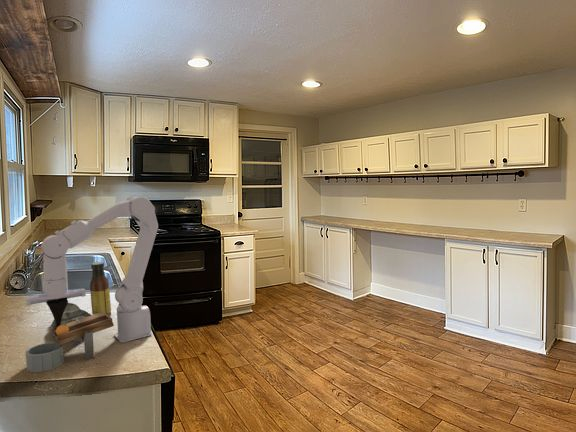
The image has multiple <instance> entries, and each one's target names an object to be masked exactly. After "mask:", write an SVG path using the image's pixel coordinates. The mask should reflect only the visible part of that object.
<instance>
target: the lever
mask: <svg viewBox="0 0 576 432" xmlns="http://www.w3.org/2000/svg"><path fill="white" fill-rule="evenodd" d="M51 324H52V323H51ZM61 325H66V326H67V327H68V329H69V331H68V332H67V333H64V334H61V335H57V333H56V329H57V327H58V326H56V325H55V324H52V328H50V327H49V328H50V329H49V330H50V332H51V334H52V336H53V337H54V339H55V342H57V343H58V344H59V345H60V344H62V345H63V344H66V343H68V342H69V343H70V342H73V340H75V339H78V338H81V339H82V338H84V333H85V332H90V331H92V332H93V334H94V333H98V332H100V331H103V330H107V329H109V328H113V327H114V326H115V325H114V322H113V318H112V317H111V315H110V316H109V315H108V314H105V315H104V314H103V313H102V312H101V313H98V314H94V315H93V314H91V316H88V317H85V318H82V319H79V320H78V319H76V320H75V321H72V322H69V323H66V324H65V322H64V321H62V322H61Z"/></svg>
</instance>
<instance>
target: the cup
mask: <svg viewBox="0 0 576 432" xmlns="http://www.w3.org/2000/svg"><path fill="white" fill-rule="evenodd" d="M25 362H26V363H25V364H26V365H25V367H26V370H27V372H29V371H30V372H29V373H43V372H48V371H52V370H54V369H56V368H58V367H61V366H62V364H63V363H64V347H63V344H60V345H59V344H58V342H57V341H53V342H51V341H50V342H43V343H40V344H36V345H34V346H31V347H29V348H28V349H27V350H26V351H25Z"/></svg>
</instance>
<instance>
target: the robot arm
mask: <svg viewBox="0 0 576 432" xmlns="http://www.w3.org/2000/svg"><path fill="white" fill-rule="evenodd" d="M127 217H128V218H129V217H131V218H132V219H133V220H134V221H135V222H136V224H137V226H138V227H139V228H140V229H139V232H138V235H137V238H136V241H135V245H134V247H133V252H132V254H131V258H130V262H129V265H128V269H127V272H126V274H125V277H124V278H122V281H121V283H120V286H119V287H118V288H117V289H116V291H115V293H114V298H115V301H116V302H117V303H118V305H117V307H116V319H117V321H116V323H117V332H115V333H113V336H114V337H115V338H116V339H117V340H118V341H119V343H127V342H131V341H134V340H140V339H142V338H146V337H150V336H152V335H153V333H152V325H151V322H152V321H151V310H150V308H149V307H148V306H147V305H142V304H143V301H144V300H143V299H144V298H143V292H144V282H143V280H144V277H145V273H146V270H147V267H148V263H149V259H150V256H151V253H152V251H153V247H154V243H155V239H156V237H157V232H158V229H159V223H158V219H157V218H158V217H157V216H156V207H155V205H153V203H152V202H151V201H150V199H148V198H147V197H144V196H136V195H135V196H134V195H133V196H130V197H128V198H126V199H123V200H120V201H119V202H117V203H115V204H113V205H111V206H110V207H107V209H105V210H103V211H101V212H100V213H98V214H96V215H95V216H93V217H92V218H90V219H88V220H87V221H86V220H82V219H79V220H78V221H76V220H73V221H71V222H70V225H68V226H66V227H65V228H64V229H61V230H60V231H59V230H56V231H54V234H55V235H54V234H53V235H52V234H51V235H48V236H46V237H45V238H44V239H43V240H42V243H41V245H40V247H41V248H40V249H41V250H42V252H43V253H44V254H43V258H42V260H43V262H42V268H43V270H42V271H43V284H44V285H43V286H44V287H43V288H44V289H43V290H44V293H40V294H37V295H36V294H35V295H32V296H26V297H25V304H26V306H28V307H29V306H32V305H36V304H37V305H38V304H42V303H45V304H46V305H47V306H48V308H49V310H50V312H51V315H52V317H53V320H55V325H56V326H60V325H61V319H62V316H63V313H64V310H65V308H66V306H67V304H68V303H69V300H68V299H73V298H80V297H82V298H83V297H86V294H87V293H86V289H85V288H77V289H69V283H68V262H67V260H66V259H67V258H66V253H67V252H68V249H72V248H74V247H76V246H78V245H80V244H81V243H83V242H85V241H86V240H88V239H90V238H91V237H92V236H93V234H94V231H95V230H97V229H99V228H101V227H102V226H104V225H106V224H108V223H110V222H113V221H114V220H115V219H117V218H127Z"/></svg>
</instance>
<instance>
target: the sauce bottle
mask: <svg viewBox="0 0 576 432" xmlns="http://www.w3.org/2000/svg"><path fill="white" fill-rule="evenodd" d="M90 265H91V272H92V276H91V280H90V283H89V291H90V292H89V293H90V304H91V315H94V314H98V313H101V312H102V313H103V314H104V315H105V314H108V315H109V316H110V317H111V316H112V312H111V311H112V303H111V293H110V286H109V285H110V284H109V280H108V278H107V277H106V275H105V269H104V267H105V264H104V262H103V261H97V262H96V261H95V262H93V263H91V264H90Z"/></svg>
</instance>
